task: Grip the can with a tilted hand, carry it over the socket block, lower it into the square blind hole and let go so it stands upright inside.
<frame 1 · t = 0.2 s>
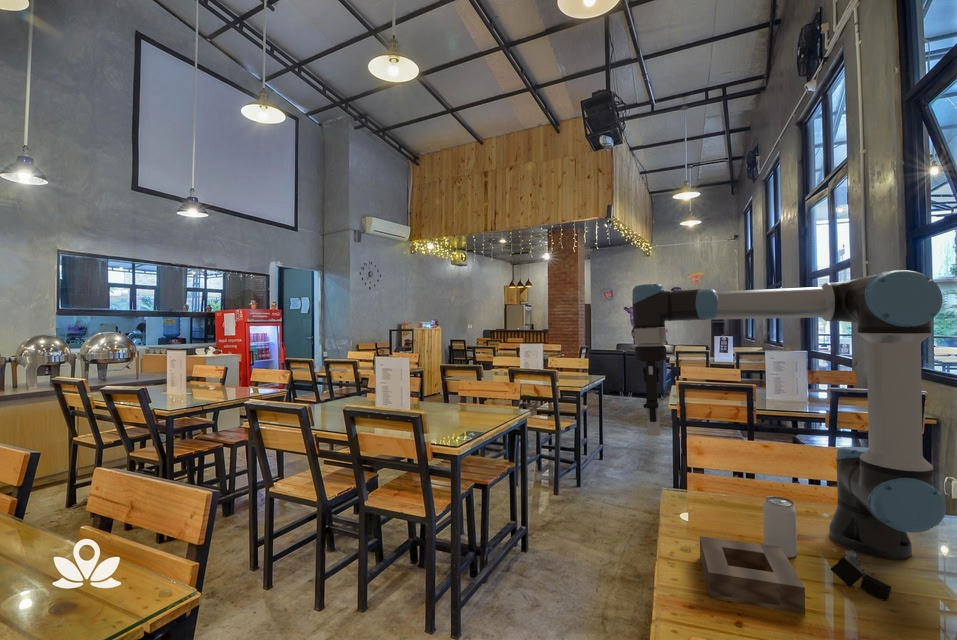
hand: (654, 429, 115), 27 cm above the table, tool pointing down, fingers open, 13 cm apart
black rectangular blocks: (860, 590, 92), on the table
socket block: (746, 583, 94), on the table
can: (780, 552, 107), on the table
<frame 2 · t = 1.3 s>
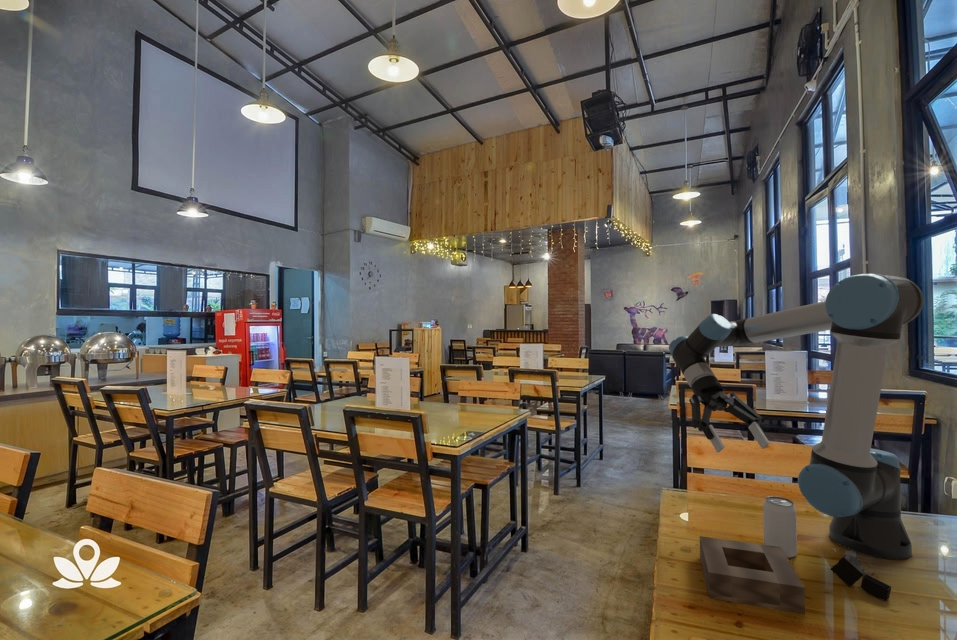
hand: (743, 448, 117), 22 cm above the table, tool tilted 45°, fingers open, 13 cm apart
nothing on the table moved.
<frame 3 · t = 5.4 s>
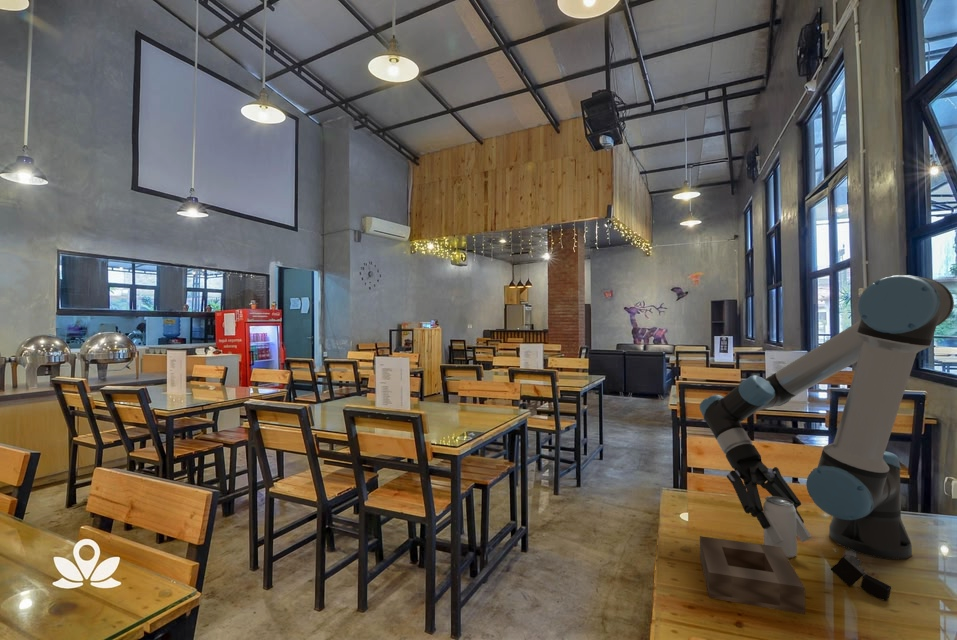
hand: (792, 540, 103), 4 cm above the table, tool tilted 45°, fingers closed on can, 6 cm apart
can: (780, 552, 107), on the table, touching gripper
everything else where it was.
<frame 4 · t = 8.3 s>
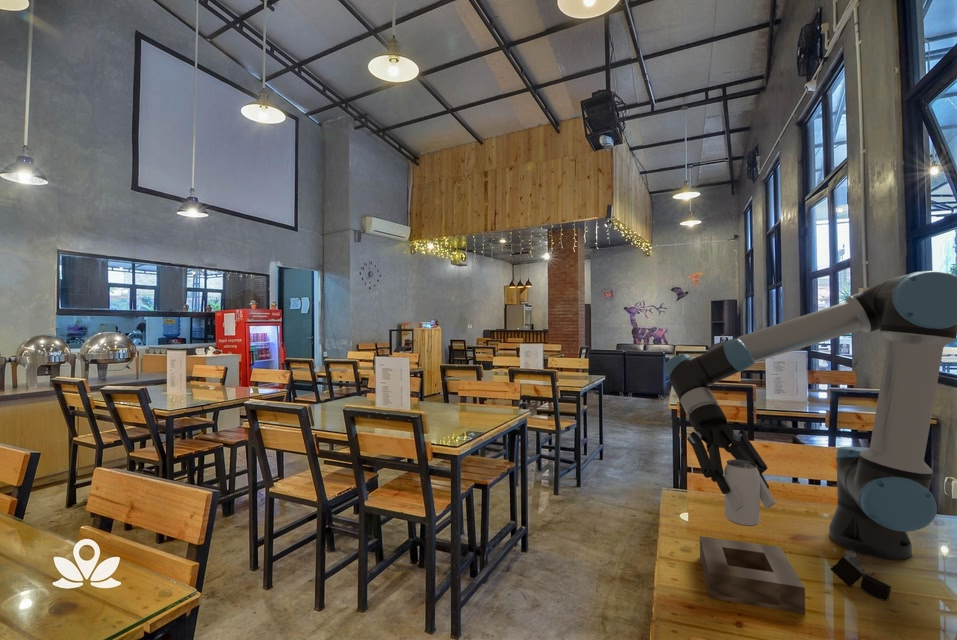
hand: (754, 506, 92), 17 cm above the table, tool tilted 45°, fingers closed on can, 6 cm apart
can: (742, 520, 96), point 12 cm above the table, touching gripper
everything else where it was.
when the fingers open (7 cm above the table, at t = 11.5 s): can drops 2 cm, resting on socket block.
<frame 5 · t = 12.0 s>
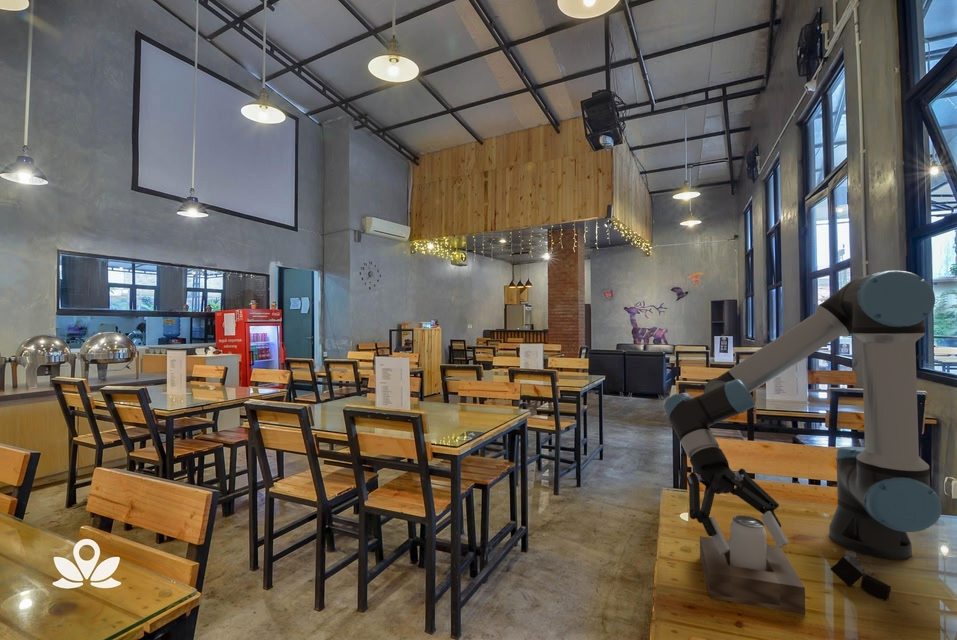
hand: (754, 548, 92), 8 cm above the table, tool tilted 45°, fingers open, 13 cm apart
can: (747, 579, 94), point 1 cm above the table, touching socket block
everything else where it was.
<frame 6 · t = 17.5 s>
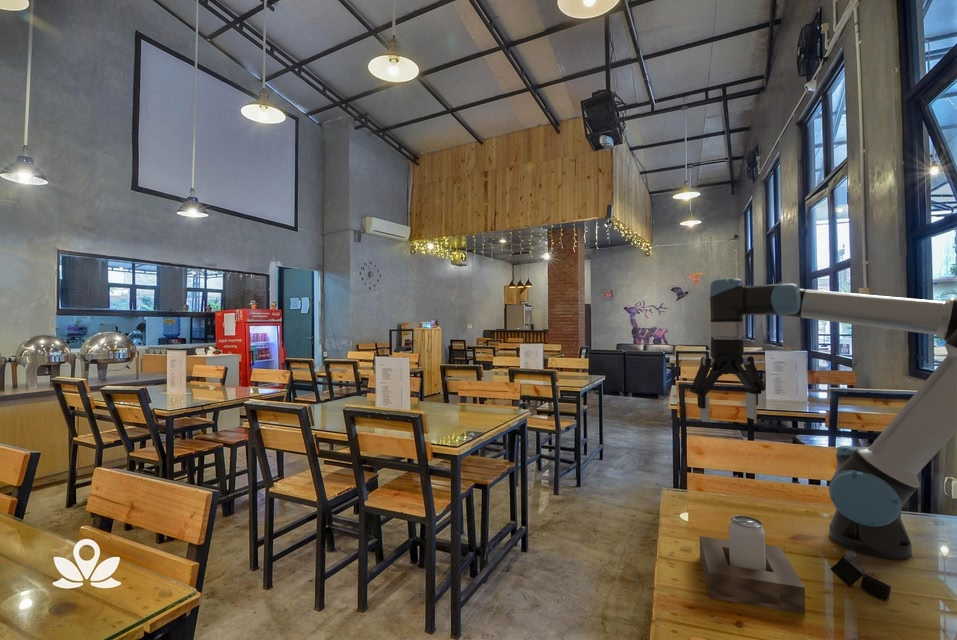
hand: (728, 419, 118), 29 cm above the table, tool pointing down, fingers open, 13 cm apart
nothing on the table moved.
at the end: can 0.2 cm off-centre on the socket block, point 0.6 cm above the socket block's base; can tilted 0°; the gripper is holding nothing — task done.
